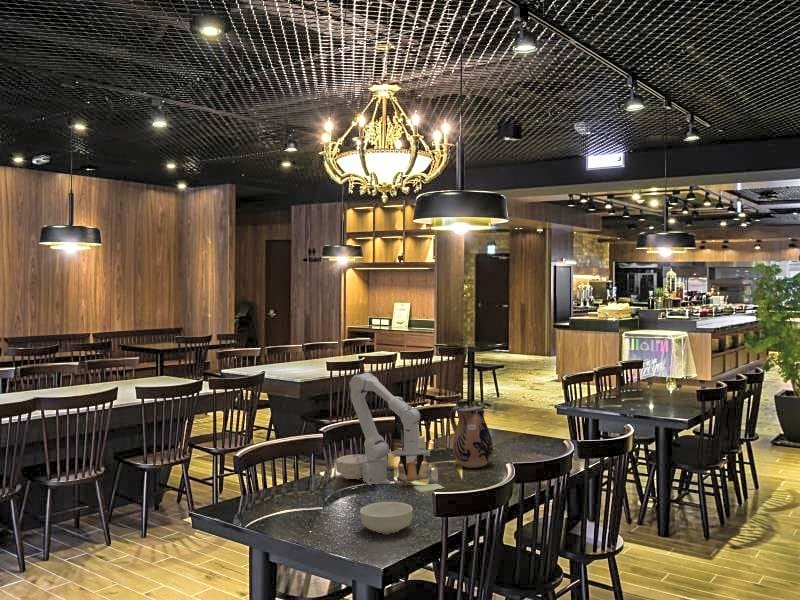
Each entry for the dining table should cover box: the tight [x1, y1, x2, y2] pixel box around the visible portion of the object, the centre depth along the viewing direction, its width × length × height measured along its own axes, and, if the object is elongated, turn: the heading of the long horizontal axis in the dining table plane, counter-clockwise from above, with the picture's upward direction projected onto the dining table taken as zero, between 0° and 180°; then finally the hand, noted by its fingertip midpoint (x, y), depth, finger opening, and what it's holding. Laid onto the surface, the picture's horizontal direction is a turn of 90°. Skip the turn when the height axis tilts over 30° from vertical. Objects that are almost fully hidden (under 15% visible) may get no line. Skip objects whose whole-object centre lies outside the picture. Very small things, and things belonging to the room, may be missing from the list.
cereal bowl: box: [359, 501, 414, 535], centre depth 230 cm, size 17×17×7 cm
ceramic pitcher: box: [449, 406, 494, 469], centre depth 312 cm, size 18×21×25 cm
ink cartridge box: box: [406, 430, 427, 463], centre depth 319 cm, size 9×5×15 cm, turn 62°
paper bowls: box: [335, 453, 368, 480], centre depth 297 cm, size 15×15×8 cm
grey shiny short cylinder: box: [427, 466, 439, 485], centre depth 285 cm, size 4×4×6 cm
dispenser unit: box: [396, 460, 430, 482], centre depth 293 cm, size 13×5×6 cm, turn 112°
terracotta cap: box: [407, 462, 417, 481], centre depth 282 cm, size 4×4×6 cm
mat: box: [413, 483, 445, 494], centre depth 277 cm, size 10×7×1 cm
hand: (412, 474), depth 282 cm, fingers closed on terracotta cap, 4 cm apart
